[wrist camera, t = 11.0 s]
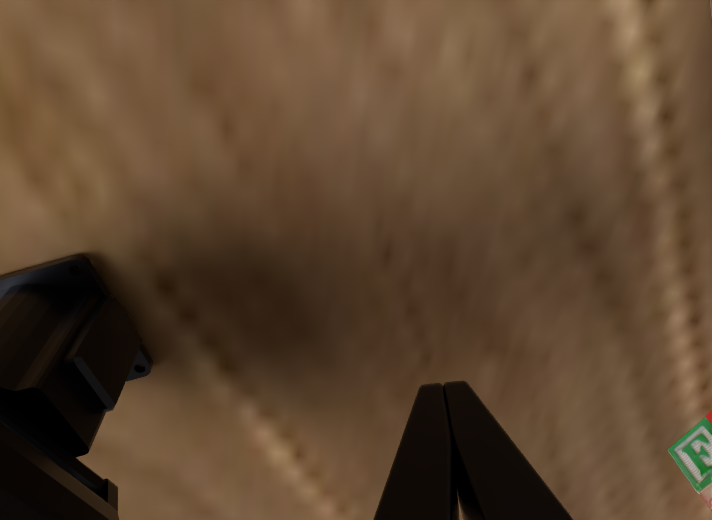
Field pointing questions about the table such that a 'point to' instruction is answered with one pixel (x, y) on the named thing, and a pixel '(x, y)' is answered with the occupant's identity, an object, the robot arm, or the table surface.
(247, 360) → the table surface
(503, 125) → the table surface
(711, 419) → the stack of blocks
